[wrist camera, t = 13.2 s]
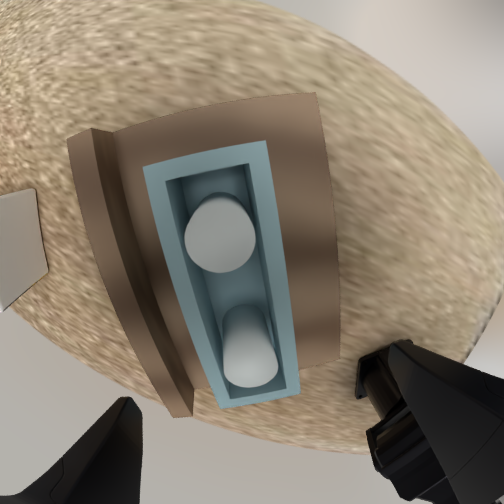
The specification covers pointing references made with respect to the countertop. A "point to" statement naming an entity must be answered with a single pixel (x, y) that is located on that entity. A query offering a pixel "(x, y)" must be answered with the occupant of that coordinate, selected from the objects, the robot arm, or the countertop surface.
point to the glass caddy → (229, 269)
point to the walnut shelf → (150, 249)
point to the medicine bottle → (19, 246)
